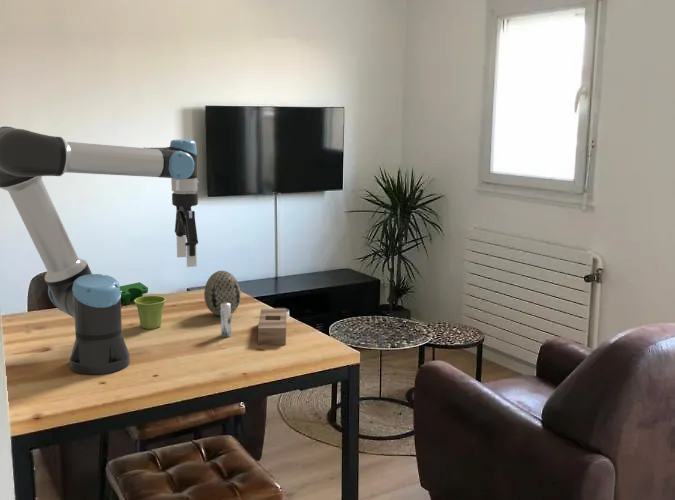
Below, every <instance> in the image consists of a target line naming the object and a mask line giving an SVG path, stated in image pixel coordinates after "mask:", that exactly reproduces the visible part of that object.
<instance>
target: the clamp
mask: <svg viewBox="0 0 675 500" xmlns="http://www.w3.org/2000/svg"><path fill="white" fill-rule="evenodd" d="M119 286H120V291H121V304H125V305H127V306H130V302H131V301H134V300H135V299H136V298H139V297H143V295H145V294H148V293H149V287H148V286H146V285H144V284H143V283H142V282H140V281H139V282H134V283H129V284H124V285H119Z"/></svg>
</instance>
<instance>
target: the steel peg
mask: <svg viewBox="0 0 675 500" xmlns="http://www.w3.org/2000/svg"><path fill="white" fill-rule="evenodd" d="M220 336H221V337H222V338H230V337H231V336H232V313H231V303H228V302H224V303H221V316H220Z"/></svg>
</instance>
